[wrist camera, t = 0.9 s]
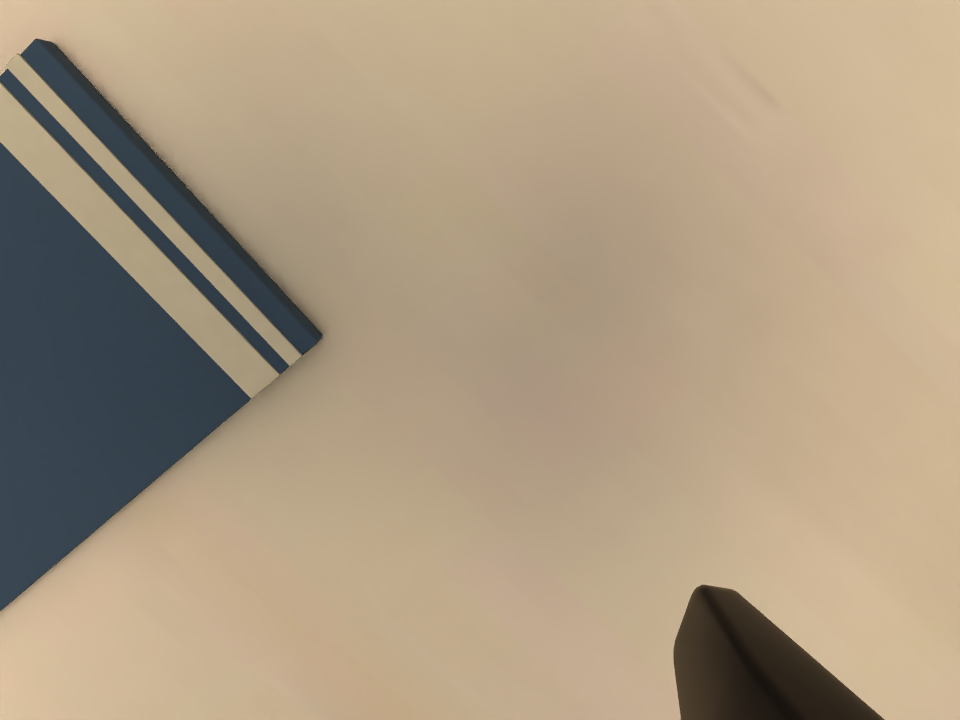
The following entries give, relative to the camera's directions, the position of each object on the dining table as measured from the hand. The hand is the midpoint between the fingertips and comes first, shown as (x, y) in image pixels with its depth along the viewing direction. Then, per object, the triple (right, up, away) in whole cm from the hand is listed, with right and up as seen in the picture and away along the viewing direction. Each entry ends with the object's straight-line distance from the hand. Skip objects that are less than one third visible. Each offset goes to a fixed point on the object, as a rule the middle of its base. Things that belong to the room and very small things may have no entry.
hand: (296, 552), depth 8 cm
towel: (-14, +1, +15) cm, 21 cm away
